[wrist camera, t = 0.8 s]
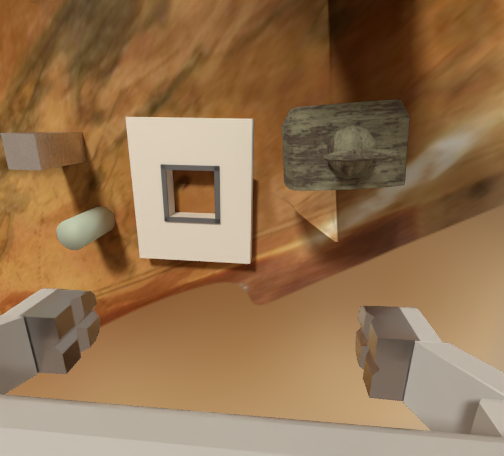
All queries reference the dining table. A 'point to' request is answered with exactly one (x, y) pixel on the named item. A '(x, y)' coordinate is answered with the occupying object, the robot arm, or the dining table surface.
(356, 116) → the tabletop clock
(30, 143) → the square peg
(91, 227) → the round peg
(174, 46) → the dining table surface
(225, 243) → the socket board
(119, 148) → the dining table surface
